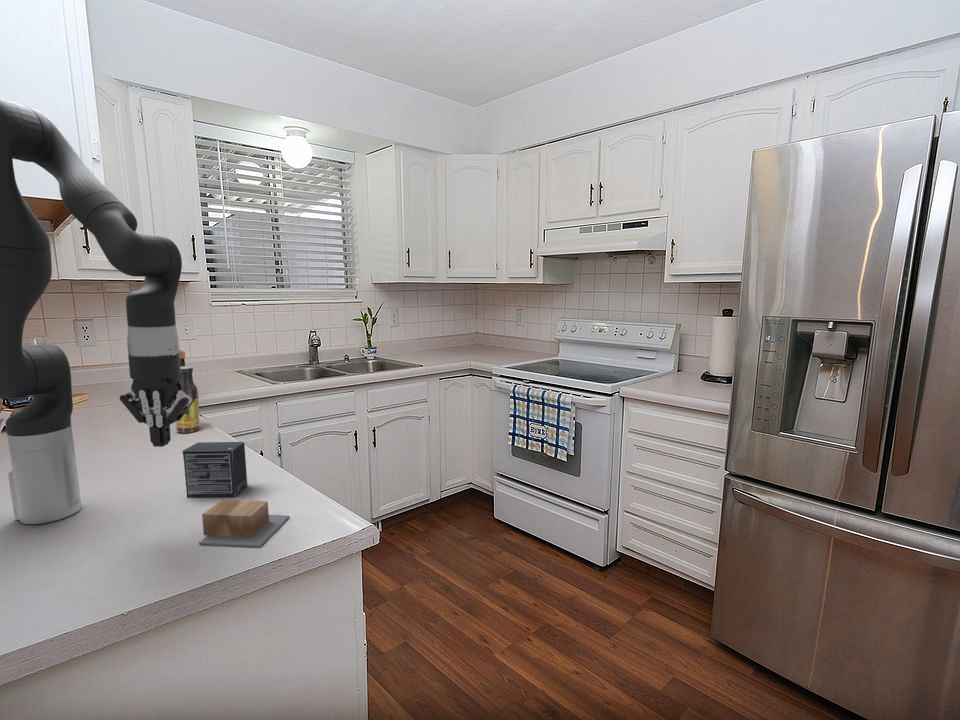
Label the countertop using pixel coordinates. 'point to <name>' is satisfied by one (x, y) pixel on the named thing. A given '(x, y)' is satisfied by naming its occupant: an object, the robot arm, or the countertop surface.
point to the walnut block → (235, 518)
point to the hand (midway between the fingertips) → (161, 445)
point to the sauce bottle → (192, 414)
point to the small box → (215, 469)
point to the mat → (254, 541)
